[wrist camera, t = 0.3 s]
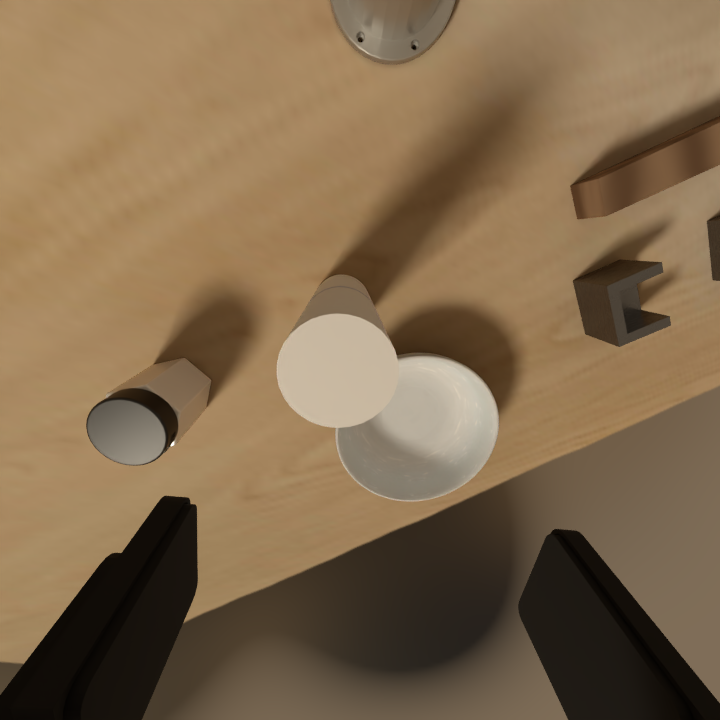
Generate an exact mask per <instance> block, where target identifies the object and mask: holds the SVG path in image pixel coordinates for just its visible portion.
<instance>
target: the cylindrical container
mask: <svg viewBox="0 0 720 720" xmlns="http://www.w3.org/2000/svg"><path fill="white" fill-rule="evenodd" d="M398 378H399V363H398V359H397V355H396V352H395V349H394V347H393V345H392V343H391V341H390V338H389V336H388V334H387V332H386V330H385V328H384V326H383V323H382V321H381V319H380V317H379V315H378V313H377V311H376V309H375V306H374V304H373V302H372V300H371V298H370V296H369V294H368V292H367V290H366V288H365V286H364V285H363V284H362V283H361V282H360V281H359V280H358V279H356V278H354V277H352V276H349V275H343V274H341V275H334V276H331V277H329V278H327V279H326V280H324V281H323V282H322V283H321V284H320V286H319V287H318V289H317V290H316V292H315V293H314V295H313V297H312V298H311V300H310V302H309V303H308V305H307V306H306V308H305V310H304V311H303V313H302V315H301V316H300V318H299V319H298V321H297V323H296V324H295V326H294V328H293V329H292V331H291V332H290V334H289V336H288V337H287V339H286V341H285V342H284V344H283V346H282V348H281V351H280V353H279V357H278V361H277V379H278V384H279V388H280V390H281V392H282V395H283V397H284V398H285V400H286V401H287V403H288V404H289V405H290V407H291V408H292V409H293V410H294V411H296V412H297V413H298V414H299V415H300V416H302V417H303V418H305V419H306V420H308V421H310V422H313V423H315V424H318V425H322V426H326V427H335V428H342V427H351V426H355V425H358V424H361V423H364V422H366V421H368V420H370V419H371V418H373V417H374V416H376V415H377V414H378V413H380V412H381V411H382V410H383V409H384V408H385V406H386V405H387V404H388V403H389V402H390V400H391V398H392V396H393V395H394V393H395V390H396V387H397V384H398Z"/></svg>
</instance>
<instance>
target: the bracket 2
mask: <svg viewBox="0 0 720 720" xmlns="http://www.w3.org/2000/svg"><path fill="white" fill-rule="evenodd" d="M707 225H708V236H709V246H710V257H711V267H712V278H713V280H717V281H720V216H718V217H716V218H713V219H711V220H709V221H707Z"/></svg>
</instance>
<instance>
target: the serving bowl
mask: <svg viewBox="0 0 720 720" xmlns="http://www.w3.org/2000/svg"><path fill="white" fill-rule="evenodd" d="M397 359H398V363H399V378H398V384H397V387H396V390H395V393H394V395H393V396H392V398H391V400H390V402H389V403H388V404H387V405H386V406H385V408H384V409H383V410H382V411H381V412H380V413H378V414H377V415H376V416H374V417H373V418H371V419H370V420H368V421H366V422H364V423H361V424H358V425H355V426H351V427H342V428H336V430H335V438H336V447H337V451H338V454H339V457H340V459H341V462H342V463H343V465H344V467H345V469H346V470H347V472H348V473H349V474H350V475H351V477H352V478H353V479H354V480H355V481H356V482H357V483H359V484H360V485H361V486H362V487H364V488H365V489H367V490H369V491H370V492H372V493H374V494H376V495H379V496H381V497H385V498H388V499H392V500H398V501H423V500H429V499H433V498H437V497H440V496H443V495H446V494H448V493H450V492H452V491H454V490H456V489H458V488H460V487H461V486H463V485H464V484H466V483H467V482H468V481H470V480H471V479H472V478H473V477H474V476H475V475H476V474H477V473H478V472H479V471H480V470H481V469H482V467H483V466H484V465H485V463H486V462H487V460H488V459H489V457H490V455H491V453H492V451H493V449H494V446H495V443H496V440H497V436H498V430H499V414H498V408H497V404H496V401H495V399H494V396H493V394H492V392H491V390H490V389H489V387H488V386H487V384H486V383H485V382H484V380H483V379H482V378H481V377H480V376H479V375H478V374H477V373H475V372H474V371H473V370H472V369H470V368H469V367H467V366H466V365H464V364H462V363H460V362H458V361H456V360H454V359H451V358H448V357H445V356H442V355H438V354H432V353H407V354H401V355H397Z"/></svg>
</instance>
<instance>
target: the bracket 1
mask: <svg viewBox="0 0 720 720" xmlns="http://www.w3.org/2000/svg"><path fill="white" fill-rule="evenodd" d="M661 273H663V267H662V262H649V261H632V260H618V261H616V262H614V263H612V264H609V265H607V266H605V267H603V268H600V269H598V270H596V271H594V272H591V273H589V274H587V275H585V276H582V277H580V278H578V279H576V280H573V283H574V288H575V292H576V296H577V300H578V305H579V309H580V313H581V317H582V322H583V326H584V330H585V334H586V335H589V336H592V337H594V338H597V339H600V340H602V341H605V342H607V343H610V344H613V345H615V346H618V347H620V346H623V345H625V344H627V343H630V342H632V341H635V340H637V339H639V338H642V337H644V336H647V335H649V334H651V333H654V332H656V331H659V330H661V329H663V328H666V327H668V326H671V323H670V316H666V315H662V314H657V313H653V312H648V311H644V310H641V306H640V300H639V294H638V289H637V284H638V283H640V282H642V281H645V280H647V279H649V278H651V277H654V276H656V275H658V274H661Z"/></svg>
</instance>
